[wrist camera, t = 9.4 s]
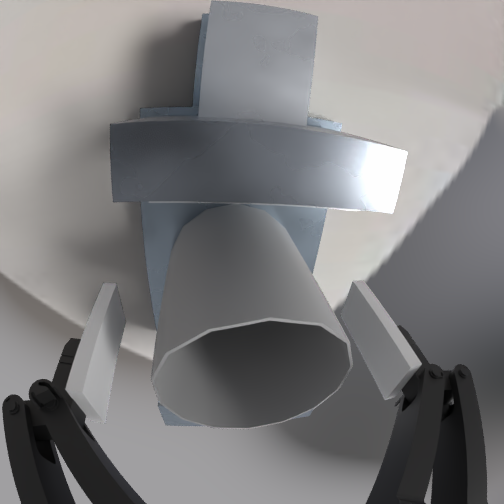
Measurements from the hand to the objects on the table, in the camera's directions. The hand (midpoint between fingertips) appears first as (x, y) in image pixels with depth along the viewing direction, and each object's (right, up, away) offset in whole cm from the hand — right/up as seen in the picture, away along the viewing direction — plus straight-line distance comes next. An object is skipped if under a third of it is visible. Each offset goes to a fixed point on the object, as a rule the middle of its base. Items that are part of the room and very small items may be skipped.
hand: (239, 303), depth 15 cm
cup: (-1, +2, +4) cm, 5 cm away
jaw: (0, +12, -1) cm, 12 cm away
